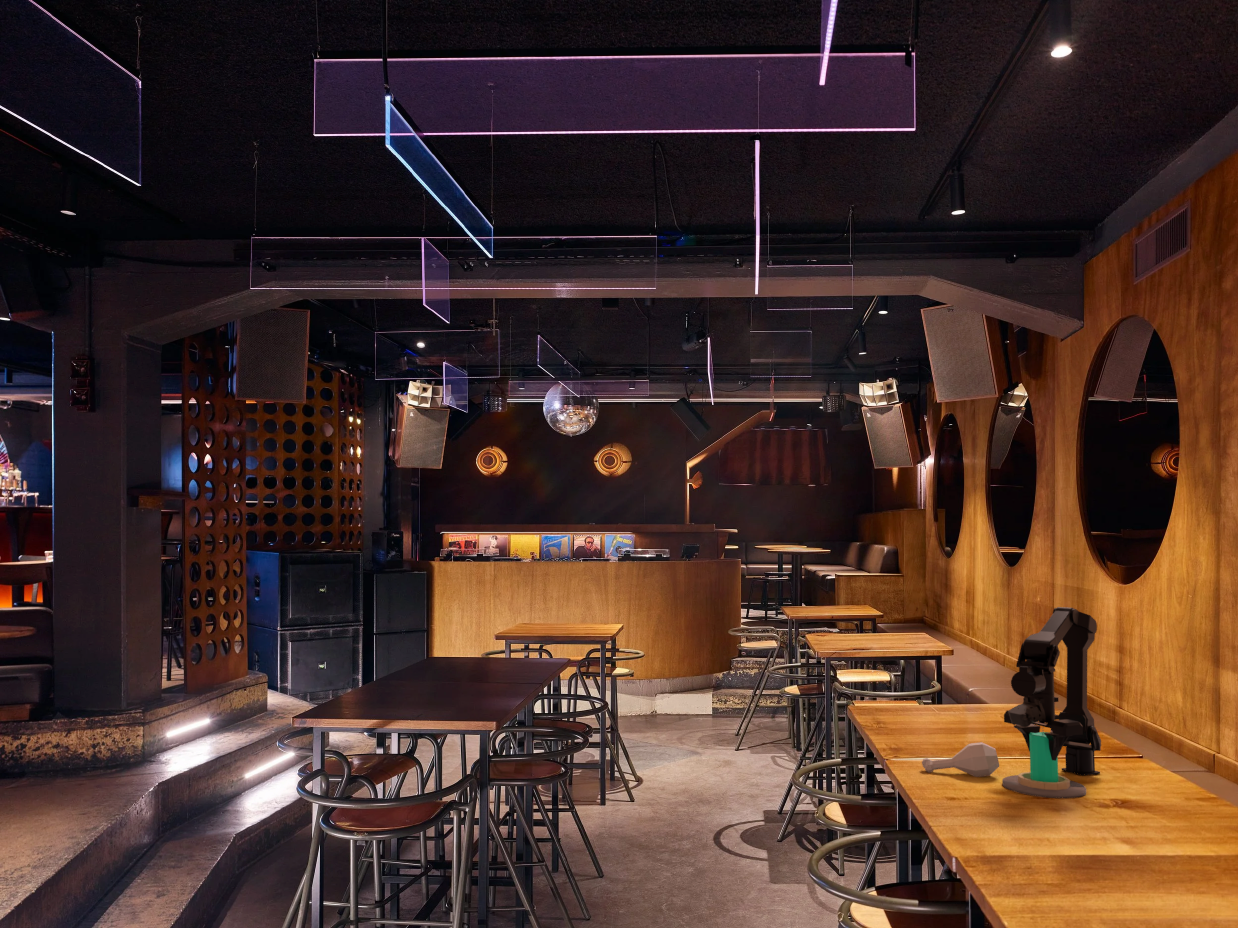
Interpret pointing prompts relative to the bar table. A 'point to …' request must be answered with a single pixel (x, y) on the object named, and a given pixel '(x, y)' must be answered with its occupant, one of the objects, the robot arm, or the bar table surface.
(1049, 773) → the candle
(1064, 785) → the candle holder
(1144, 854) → the bar table surface
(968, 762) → the chicken leg
